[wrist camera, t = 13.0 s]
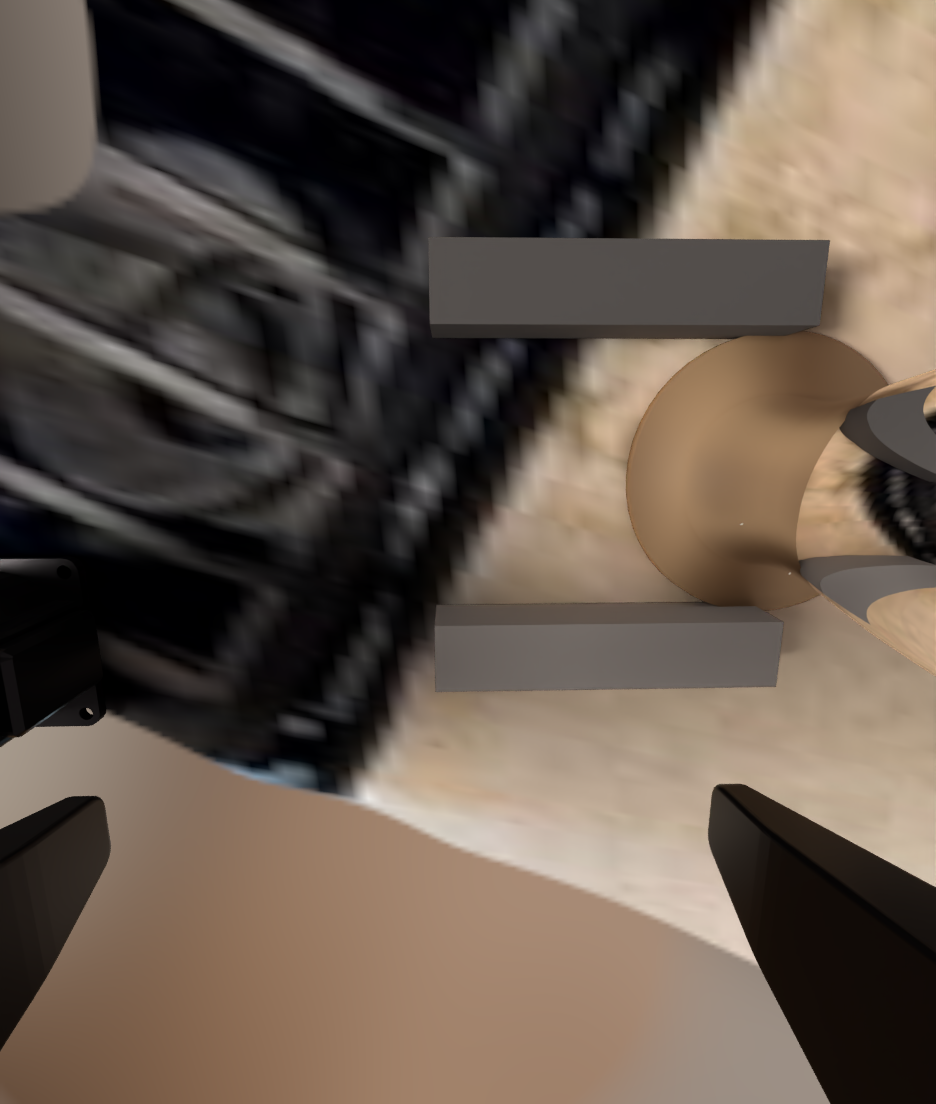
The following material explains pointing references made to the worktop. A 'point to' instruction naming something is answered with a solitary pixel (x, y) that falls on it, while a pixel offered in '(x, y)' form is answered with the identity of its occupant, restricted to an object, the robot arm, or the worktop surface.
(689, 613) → the grey square beam
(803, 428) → the silver metal cup
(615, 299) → the long grey square rod
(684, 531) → the coaster
